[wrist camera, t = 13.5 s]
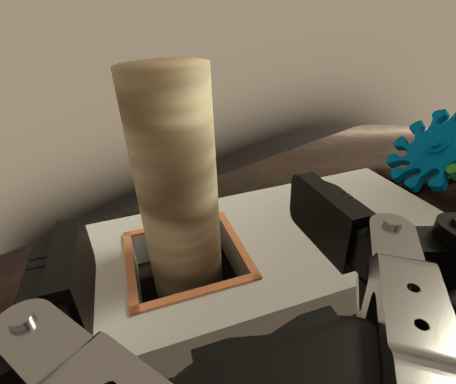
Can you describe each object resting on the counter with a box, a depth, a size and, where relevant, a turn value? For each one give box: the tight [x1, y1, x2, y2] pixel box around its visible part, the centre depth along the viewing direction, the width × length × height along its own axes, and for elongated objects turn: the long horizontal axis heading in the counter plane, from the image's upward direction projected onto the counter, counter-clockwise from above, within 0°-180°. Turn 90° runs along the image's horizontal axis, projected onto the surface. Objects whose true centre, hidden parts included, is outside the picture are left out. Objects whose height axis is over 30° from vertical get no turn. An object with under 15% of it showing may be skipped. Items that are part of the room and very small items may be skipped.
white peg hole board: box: [85, 168, 444, 379], centre depth 22 cm, size 26×12×3 cm, turn 109°
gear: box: [386, 109, 456, 192], centre depth 31 cm, size 11×6×10 cm
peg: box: [111, 57, 223, 298], centre depth 18 cm, size 4×4×14 cm
